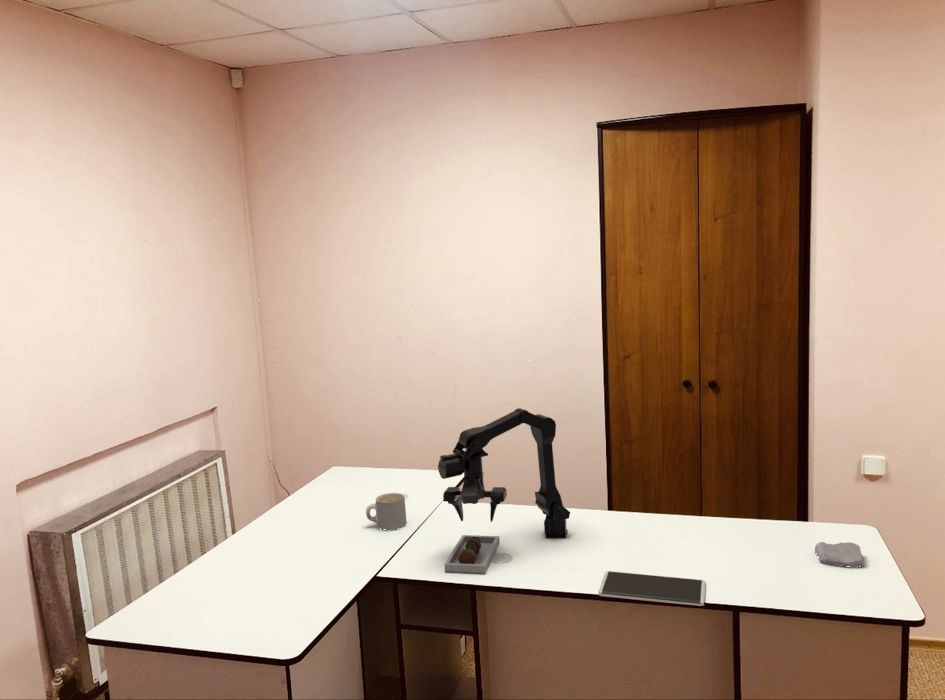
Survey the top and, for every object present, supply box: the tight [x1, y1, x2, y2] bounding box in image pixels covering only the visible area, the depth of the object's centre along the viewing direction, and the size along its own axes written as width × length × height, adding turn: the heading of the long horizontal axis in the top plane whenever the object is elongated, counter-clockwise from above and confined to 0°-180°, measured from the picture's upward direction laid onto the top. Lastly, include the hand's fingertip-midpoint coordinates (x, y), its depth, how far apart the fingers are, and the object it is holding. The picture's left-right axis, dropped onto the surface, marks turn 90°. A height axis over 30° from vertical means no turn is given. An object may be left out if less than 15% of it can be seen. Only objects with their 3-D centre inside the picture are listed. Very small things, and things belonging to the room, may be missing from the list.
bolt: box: [458, 537, 481, 564], centre depth 226 cm, size 6×5×15 cm
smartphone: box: [598, 571, 706, 607], centre depth 199 cm, size 13×27×2 cm, turn 71°
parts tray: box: [444, 534, 501, 575], centre depth 226 cm, size 12×22×2 cm, turn 167°
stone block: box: [814, 541, 865, 567], centre depth 210 cm, size 12×5×10 cm
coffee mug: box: [365, 492, 407, 531], centre depth 256 cm, size 13×10×10 cm
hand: (476, 521), depth 227 cm, fingers open, 9 cm apart
